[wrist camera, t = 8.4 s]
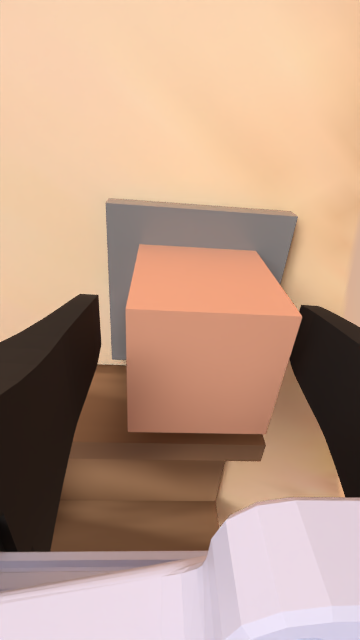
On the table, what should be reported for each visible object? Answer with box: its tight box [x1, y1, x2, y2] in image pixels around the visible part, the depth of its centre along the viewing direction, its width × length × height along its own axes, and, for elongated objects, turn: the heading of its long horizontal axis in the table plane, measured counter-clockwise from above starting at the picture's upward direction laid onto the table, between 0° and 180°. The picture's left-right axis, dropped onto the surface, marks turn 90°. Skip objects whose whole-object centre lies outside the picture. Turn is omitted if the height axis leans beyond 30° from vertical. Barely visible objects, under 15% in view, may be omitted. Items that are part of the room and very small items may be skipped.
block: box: [126, 244, 302, 434], centre depth 11 cm, size 4×4×5 cm
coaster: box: [106, 198, 298, 360], centre depth 14 cm, size 7×7×1 cm
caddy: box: [50, 365, 266, 552], centre depth 17 cm, size 12×13×5 cm
